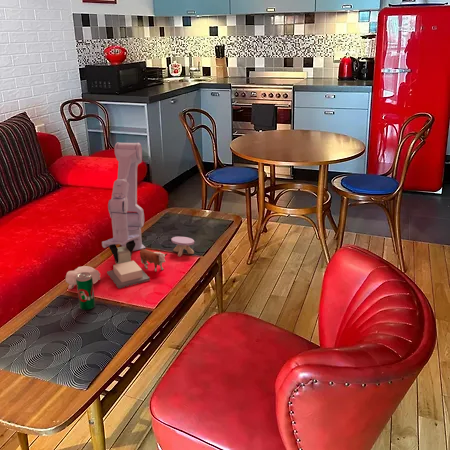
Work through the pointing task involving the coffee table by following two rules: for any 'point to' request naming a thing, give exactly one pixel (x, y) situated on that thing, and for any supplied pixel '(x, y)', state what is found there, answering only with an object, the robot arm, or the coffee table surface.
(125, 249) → the sage brick
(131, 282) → the tower base
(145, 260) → the bull figurine
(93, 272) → the white lumpy shape
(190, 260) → the coffee table surface
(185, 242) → the toy table
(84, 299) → the soda can
